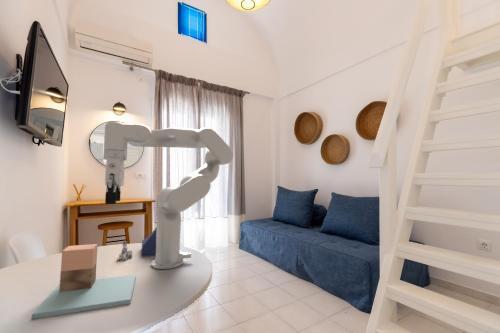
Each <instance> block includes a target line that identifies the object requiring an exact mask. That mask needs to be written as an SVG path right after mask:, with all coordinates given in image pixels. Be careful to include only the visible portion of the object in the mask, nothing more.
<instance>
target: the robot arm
mask: <svg viewBox="0 0 500 333" xmlns="http://www.w3.org/2000/svg"><path fill="white" fill-rule="evenodd" d="M103 140H104V141H103V158H102V159H103V160H106V163H105V172H104V173H105V178H104V185H105V187H106V190H105V198H104V199H105V201H104V204H105V205H114V204H115V205H116V204H117V202H121V195H122V194H121V193H122V192H121V191H122V190H121V187H123V186H125V161H127V160H128V144H129V145H130V146H133V147H141V148H142V147H146V148H187V149H204V148H206V149H207V151H206V153H205V154H204V155H205V156H204V163H203V165H202V166H201V167H199V168H198V169H197V170H195V171H193V172H192V173H190V174H188V175H186V176H185V177H183V179H181V181H180V183H179V186H178V187H171V186H170V187H164V188H162V189H161V190H160V191H159V192H158V194H157V195H156V199H155V205H156V217H157V218H156V227H157V233H156V255H155V258H154V259H153V260H152V261H151V262H150V267H152V268H153V269H157V270H168V269H169V270H170V269H174V268H178V267H180V266H182V265H183V264H184V259H191V258H192V253H191V252H189V253H188V252H186V251H185V252H182V251H181V231H182V230H181V229H182V228H181V227H182V214H181V213H182V212H185V211H186V210H187V209H189V208H191V207H192V206H194V205H195V204H196V203H198V202H199V201H201V200H202V199H204V198H205V197H206V196H207V195H208V193H209V192H210V189H211V183H212V182H214V181H215V180H216V179H217V177H218V175H219V170H220V166H222V165H228V164H229V163H231V162H232V160H233V159H234V158H233V157H234V152H233V150H232V148H231V147H230V146H229V144H227V143H226V141H225V140H224V139H223V138H222V137H221V136H220V135H219V134H218V133H217V132H216V131H215V130H213V129H212V128H210V127H203V128H200V129H194V128H184V127H167V128H162V129H161V128H160V129H150V128H149V127H148V126H147V125H144V124H140V123H123V122H120V121H107V122H106V123H105V125H104V138H103Z"/></svg>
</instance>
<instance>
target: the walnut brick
mask: <svg viewBox="0 0 500 333" xmlns="http://www.w3.org/2000/svg"><path fill="white" fill-rule="evenodd" d="M97 263H98V262H96V264H95V265H94V267H93V268H90V269H80V270H70V271H61V270H60V279H59V284H60V290H59V292H65V291H73V290H80V289H88V288H92V286H93V284H94V282H95V281H96V277H97Z"/></svg>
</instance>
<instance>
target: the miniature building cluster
mask: <svg viewBox="0 0 500 333" xmlns="http://www.w3.org/2000/svg"><path fill="white" fill-rule="evenodd" d="M127 241H128V240H123V241H122V249H121V252H120V253H119V254H118V257H116V261H117V262H121V261H122V262H123V261H127V260H128V259H132V258H133V250H130V249H128V245H127V244H128V243H127Z"/></svg>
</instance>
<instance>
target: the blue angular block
mask: <svg viewBox="0 0 500 333" xmlns="http://www.w3.org/2000/svg"><path fill="white" fill-rule="evenodd" d="M156 233H157V226H156V227H155V228H154V229H153V231H152V232H150V234H149V235H148V236H147V237H146V238H144V239H143V240H142V241H141V257H149V256H156Z"/></svg>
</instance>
